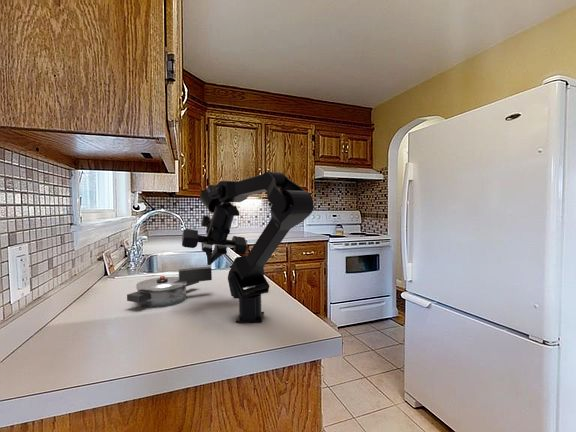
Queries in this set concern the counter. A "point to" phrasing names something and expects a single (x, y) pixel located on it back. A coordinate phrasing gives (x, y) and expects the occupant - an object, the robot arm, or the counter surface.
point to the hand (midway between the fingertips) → (208, 264)
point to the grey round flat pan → (159, 297)
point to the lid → (176, 279)
